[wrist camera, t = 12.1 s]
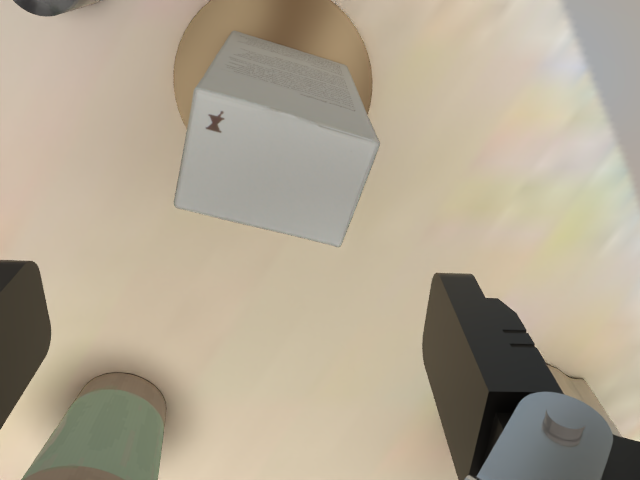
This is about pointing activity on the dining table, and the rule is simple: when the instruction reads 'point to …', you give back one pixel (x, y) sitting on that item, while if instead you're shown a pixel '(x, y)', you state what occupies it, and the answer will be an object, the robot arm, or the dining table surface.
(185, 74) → the coaster
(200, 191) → the skincare box
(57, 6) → the spacer field
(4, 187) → the dining table surface
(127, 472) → the coffee cup
